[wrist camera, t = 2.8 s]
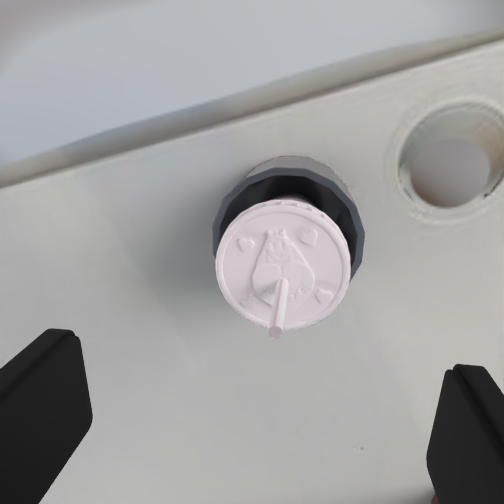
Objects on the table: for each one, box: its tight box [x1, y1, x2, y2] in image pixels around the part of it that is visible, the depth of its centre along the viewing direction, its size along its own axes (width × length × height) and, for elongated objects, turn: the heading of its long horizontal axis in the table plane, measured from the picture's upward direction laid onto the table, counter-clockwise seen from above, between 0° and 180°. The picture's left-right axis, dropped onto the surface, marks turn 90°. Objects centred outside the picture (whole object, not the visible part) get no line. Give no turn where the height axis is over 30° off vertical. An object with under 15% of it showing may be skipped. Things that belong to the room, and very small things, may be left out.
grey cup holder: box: [212, 156, 365, 283], centre depth 24 cm, size 8×8×6 cm
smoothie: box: [215, 192, 351, 339], centre depth 20 cm, size 6×6×14 cm
